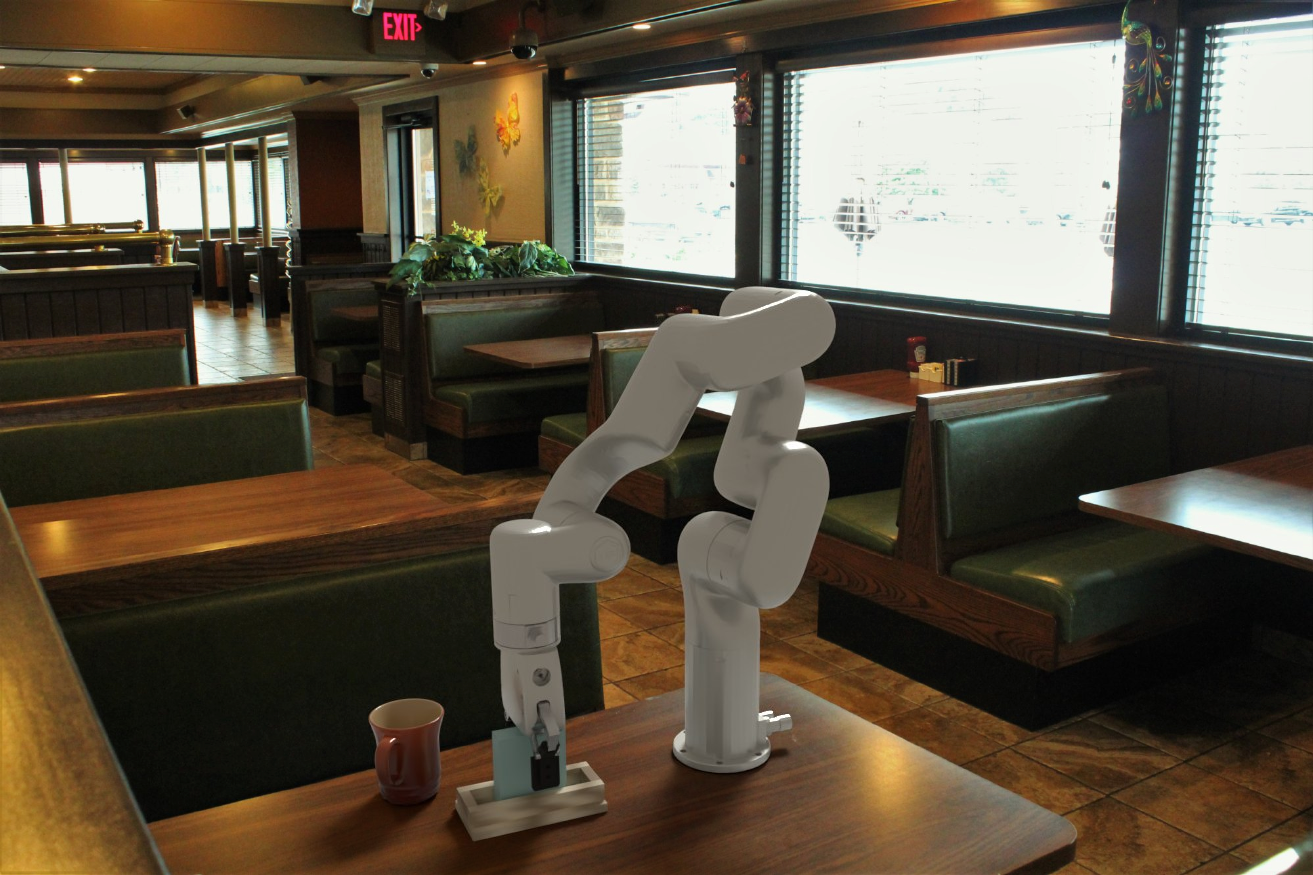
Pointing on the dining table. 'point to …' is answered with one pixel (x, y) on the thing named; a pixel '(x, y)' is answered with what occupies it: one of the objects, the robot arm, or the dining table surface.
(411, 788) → the mug
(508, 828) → the pale wooden tray
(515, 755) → the door panel
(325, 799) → the dining table surface
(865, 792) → the dining table surface
